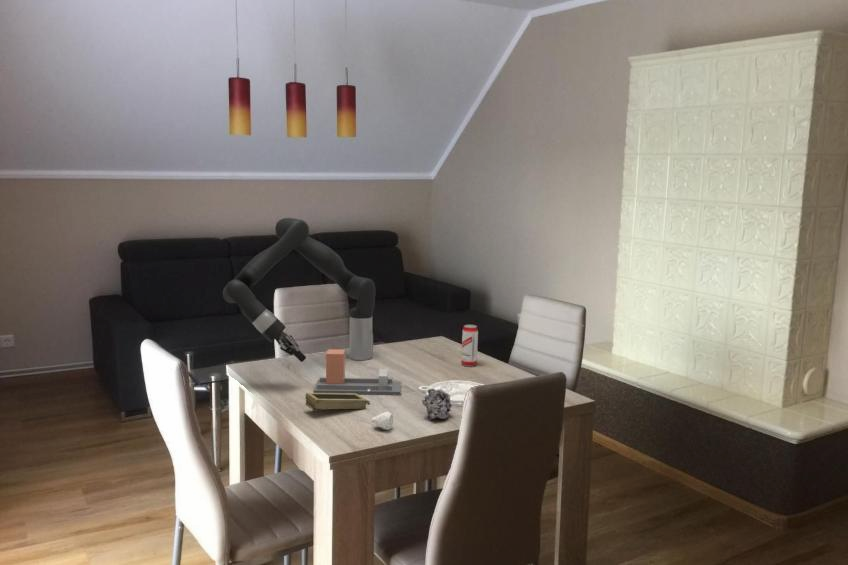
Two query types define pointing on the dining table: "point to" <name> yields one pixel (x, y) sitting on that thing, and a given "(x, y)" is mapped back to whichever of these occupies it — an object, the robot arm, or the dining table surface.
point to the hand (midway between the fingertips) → (304, 359)
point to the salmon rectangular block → (335, 366)
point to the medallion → (452, 390)
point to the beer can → (469, 345)
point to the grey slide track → (362, 385)
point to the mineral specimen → (437, 404)
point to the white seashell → (384, 420)
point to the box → (335, 401)
